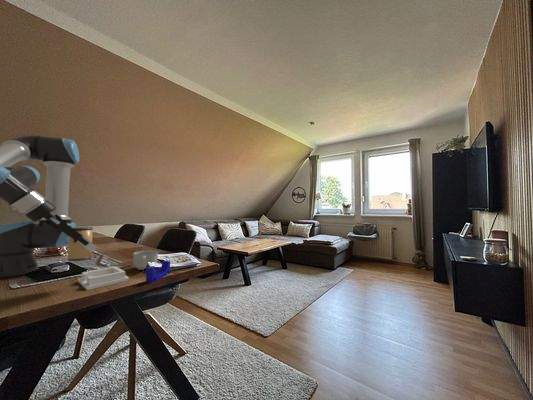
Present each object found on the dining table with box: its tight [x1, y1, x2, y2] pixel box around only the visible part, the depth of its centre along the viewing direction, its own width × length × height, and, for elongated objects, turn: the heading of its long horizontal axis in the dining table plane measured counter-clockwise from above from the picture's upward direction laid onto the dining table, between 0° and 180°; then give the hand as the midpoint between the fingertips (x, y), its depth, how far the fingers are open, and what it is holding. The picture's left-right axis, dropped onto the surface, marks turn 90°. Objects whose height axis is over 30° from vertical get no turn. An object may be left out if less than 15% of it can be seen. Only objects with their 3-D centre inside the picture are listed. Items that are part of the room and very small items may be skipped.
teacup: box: [132, 250, 159, 271], centre depth 110 cm, size 14×11×8 cm
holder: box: [77, 266, 130, 291], centre depth 93 cm, size 14×14×4 cm
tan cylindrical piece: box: [67, 226, 94, 262], centre depth 87 cm, size 7×7×12 cm
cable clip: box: [145, 260, 171, 283], centre depth 98 cm, size 12×4×6 cm, turn 170°
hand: (91, 248), depth 89 cm, fingers closed on tan cylindrical piece, 7 cm apart
